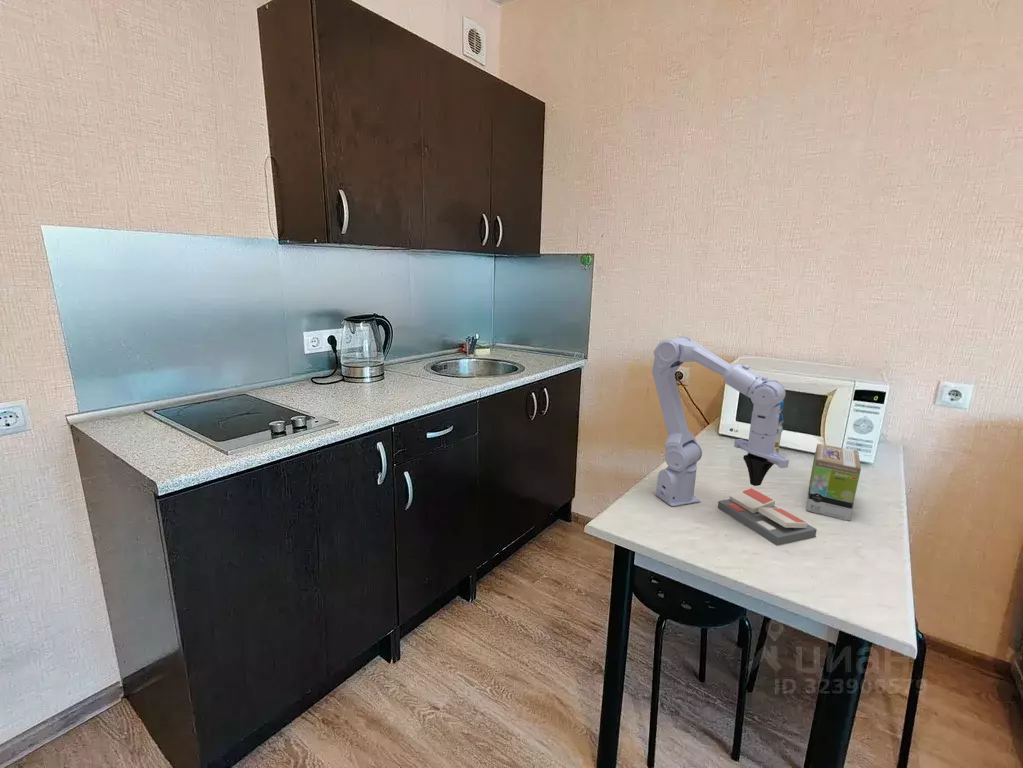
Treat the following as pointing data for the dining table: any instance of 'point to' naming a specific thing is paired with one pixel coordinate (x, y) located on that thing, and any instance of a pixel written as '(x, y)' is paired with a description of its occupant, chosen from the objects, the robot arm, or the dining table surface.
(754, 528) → the switch panel
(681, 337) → the robot arm
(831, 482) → the tea box
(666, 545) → the dining table surface
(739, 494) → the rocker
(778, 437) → the beverage bottle
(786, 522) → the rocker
